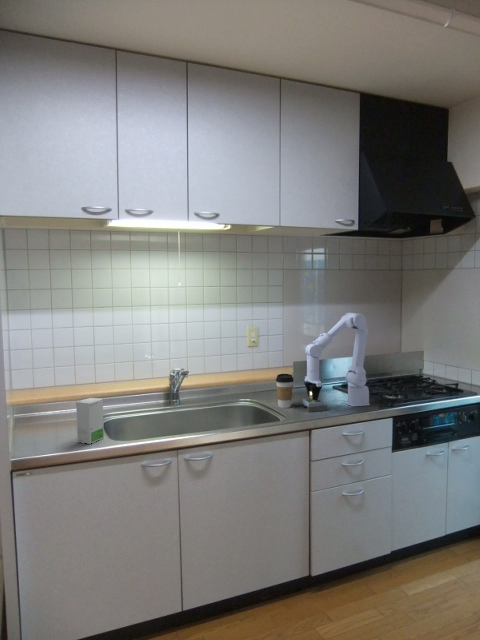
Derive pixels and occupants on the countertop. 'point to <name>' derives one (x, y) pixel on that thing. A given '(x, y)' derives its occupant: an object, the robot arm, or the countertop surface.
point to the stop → (316, 408)
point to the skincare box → (90, 420)
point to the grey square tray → (306, 403)
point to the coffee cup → (284, 390)
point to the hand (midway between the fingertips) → (312, 398)
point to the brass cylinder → (311, 397)
